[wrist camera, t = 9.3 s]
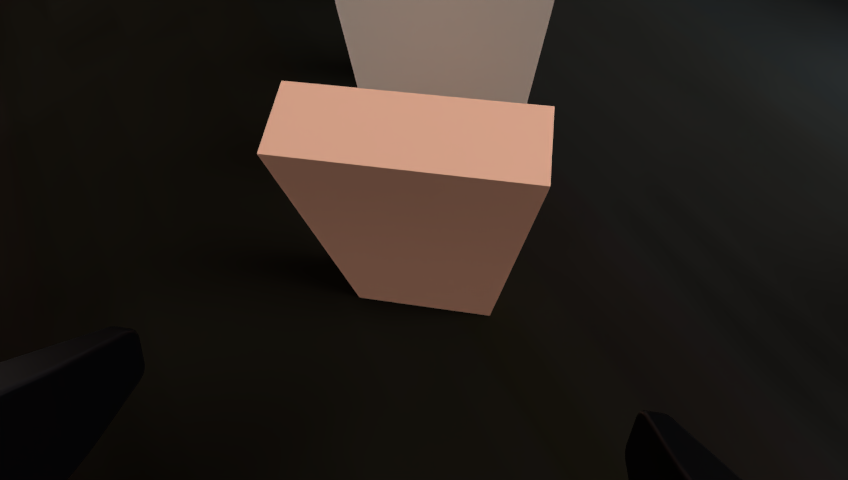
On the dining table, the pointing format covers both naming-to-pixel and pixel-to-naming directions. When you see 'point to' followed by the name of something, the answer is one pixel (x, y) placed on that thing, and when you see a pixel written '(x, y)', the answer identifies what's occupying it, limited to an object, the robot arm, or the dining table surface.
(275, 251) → the dining table surface
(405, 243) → the domino
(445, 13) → the domino
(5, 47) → the dining table surface
